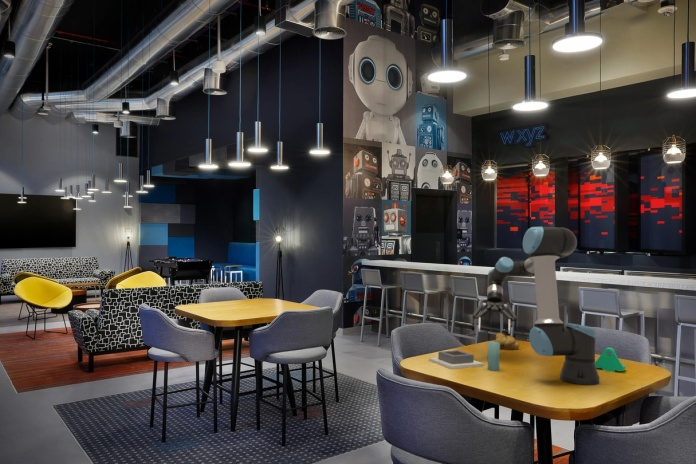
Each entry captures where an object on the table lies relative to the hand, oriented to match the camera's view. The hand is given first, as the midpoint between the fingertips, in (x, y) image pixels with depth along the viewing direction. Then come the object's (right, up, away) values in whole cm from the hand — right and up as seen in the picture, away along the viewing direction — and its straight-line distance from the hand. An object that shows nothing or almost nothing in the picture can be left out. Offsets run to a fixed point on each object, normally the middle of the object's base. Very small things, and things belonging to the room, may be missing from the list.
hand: (494, 331), depth 254 cm
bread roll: (+17, -17, +39) cm, 46 cm away
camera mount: (+51, -17, -6) cm, 54 cm away
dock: (-18, -15, 0) cm, 23 cm away
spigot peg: (-3, -15, -11) cm, 19 cm away
